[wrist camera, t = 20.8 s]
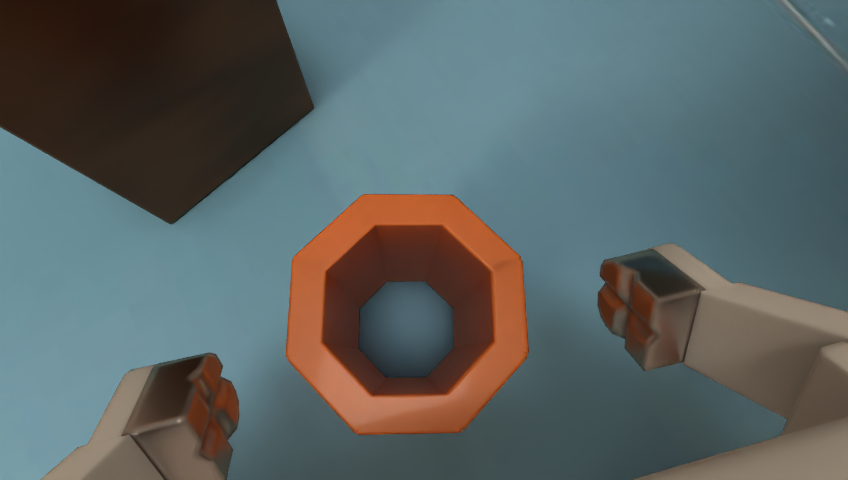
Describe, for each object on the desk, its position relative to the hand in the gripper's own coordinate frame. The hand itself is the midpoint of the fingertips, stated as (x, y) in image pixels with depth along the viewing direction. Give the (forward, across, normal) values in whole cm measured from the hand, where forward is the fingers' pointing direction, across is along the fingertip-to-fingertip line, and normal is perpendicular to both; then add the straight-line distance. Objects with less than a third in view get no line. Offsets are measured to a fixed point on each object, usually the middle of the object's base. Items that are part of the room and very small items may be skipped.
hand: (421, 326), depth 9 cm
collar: (+6, 0, +6) cm, 9 cm away
